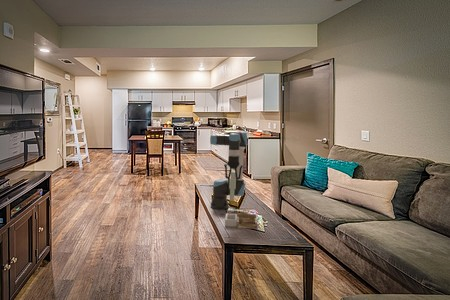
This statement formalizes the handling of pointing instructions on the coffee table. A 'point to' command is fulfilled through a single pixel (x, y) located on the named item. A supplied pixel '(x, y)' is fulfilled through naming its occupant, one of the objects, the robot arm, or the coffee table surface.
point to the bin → (231, 220)
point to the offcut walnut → (246, 222)
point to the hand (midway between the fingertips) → (232, 188)
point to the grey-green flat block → (232, 185)
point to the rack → (251, 216)
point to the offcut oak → (245, 219)
